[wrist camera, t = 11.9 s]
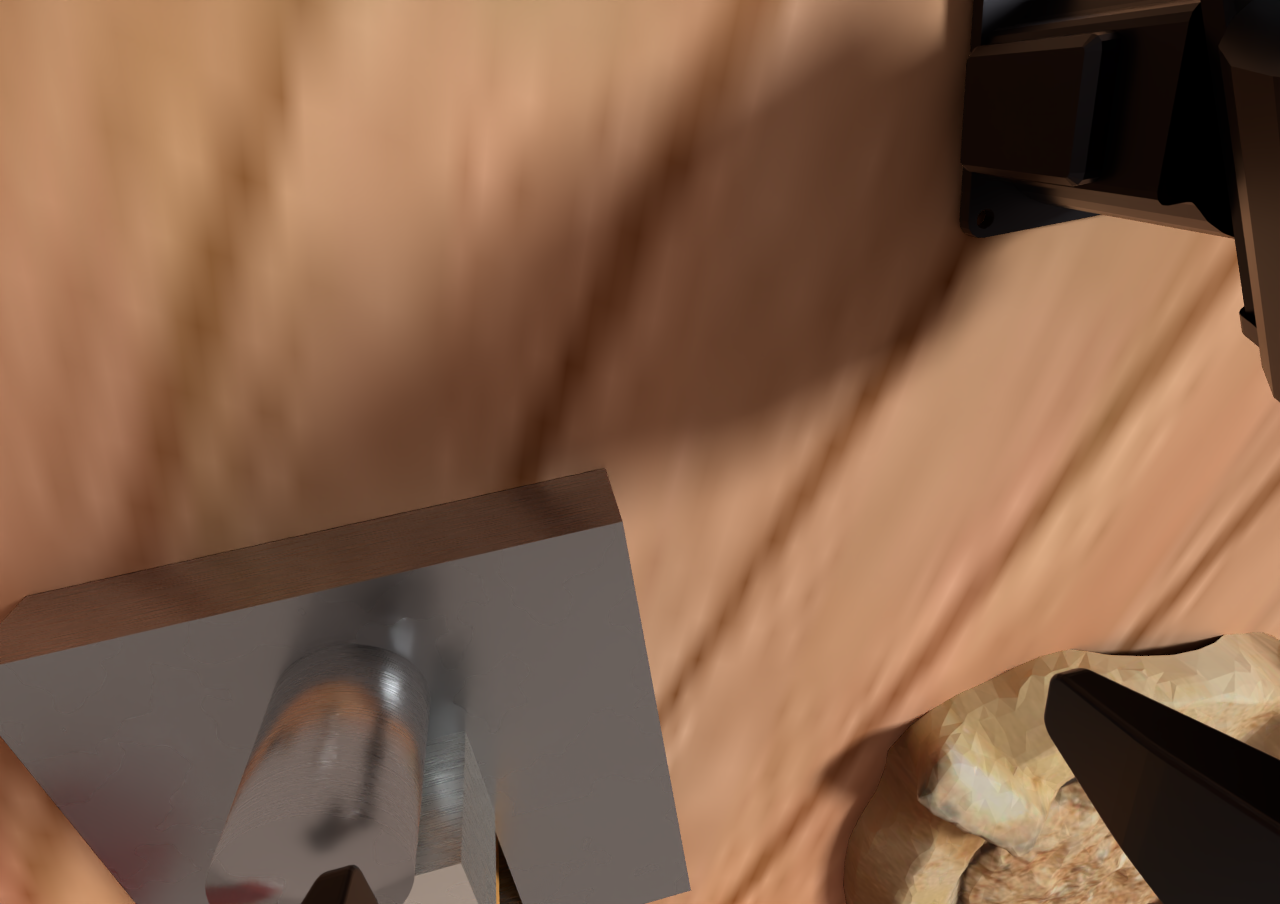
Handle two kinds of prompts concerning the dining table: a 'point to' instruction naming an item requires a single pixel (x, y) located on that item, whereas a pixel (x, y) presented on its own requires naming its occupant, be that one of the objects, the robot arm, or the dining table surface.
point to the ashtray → (1035, 783)
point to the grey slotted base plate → (362, 712)
